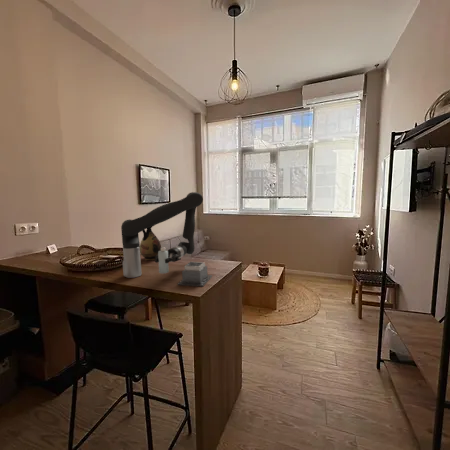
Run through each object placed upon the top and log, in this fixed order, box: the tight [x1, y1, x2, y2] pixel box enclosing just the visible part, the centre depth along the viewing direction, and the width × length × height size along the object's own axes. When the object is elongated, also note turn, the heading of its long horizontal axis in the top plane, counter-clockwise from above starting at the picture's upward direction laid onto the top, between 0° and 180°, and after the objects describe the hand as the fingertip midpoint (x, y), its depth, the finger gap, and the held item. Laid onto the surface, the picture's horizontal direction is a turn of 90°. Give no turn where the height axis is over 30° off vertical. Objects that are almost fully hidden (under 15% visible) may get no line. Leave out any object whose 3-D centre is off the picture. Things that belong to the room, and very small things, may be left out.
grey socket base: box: [177, 261, 213, 288], centre depth 136 cm, size 14×16×9 cm
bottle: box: [158, 246, 170, 274], centre depth 131 cm, size 5×5×13 cm
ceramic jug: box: [139, 225, 162, 261], centre depth 183 cm, size 17×15×30 cm
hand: (161, 261), depth 128 cm, fingers closed on bottle, 5 cm apart
